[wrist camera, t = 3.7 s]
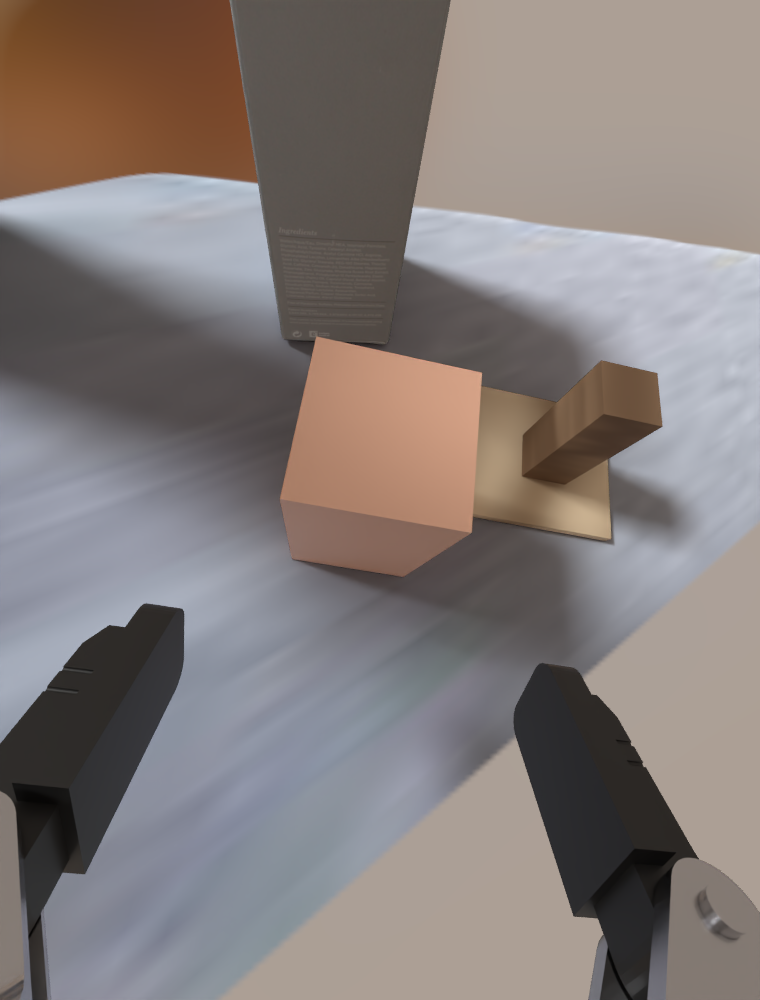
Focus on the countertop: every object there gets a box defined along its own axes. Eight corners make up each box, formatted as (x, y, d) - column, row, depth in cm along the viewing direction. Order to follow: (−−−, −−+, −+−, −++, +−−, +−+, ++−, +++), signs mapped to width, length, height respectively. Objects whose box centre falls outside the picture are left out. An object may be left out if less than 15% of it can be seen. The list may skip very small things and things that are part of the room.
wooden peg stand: (468, 516, 23) (540, 462, 16) (477, 390, 26) (541, 296, 19) (605, 540, 24) (730, 500, 17) (600, 416, 26) (706, 335, 19)
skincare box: (388, 349, 25) (501, -56, 11) (265, 342, 24) (199, -125, 9) (380, 241, 28) (462, -208, 13) (268, 230, 27) (220, -279, 12)
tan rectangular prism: (292, 558, 21) (279, 498, 12) (313, 455, 23) (316, 336, 14) (403, 576, 21) (471, 532, 12) (415, 475, 23) (481, 372, 14)
